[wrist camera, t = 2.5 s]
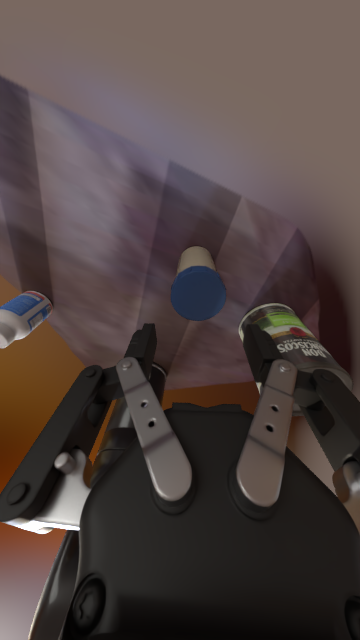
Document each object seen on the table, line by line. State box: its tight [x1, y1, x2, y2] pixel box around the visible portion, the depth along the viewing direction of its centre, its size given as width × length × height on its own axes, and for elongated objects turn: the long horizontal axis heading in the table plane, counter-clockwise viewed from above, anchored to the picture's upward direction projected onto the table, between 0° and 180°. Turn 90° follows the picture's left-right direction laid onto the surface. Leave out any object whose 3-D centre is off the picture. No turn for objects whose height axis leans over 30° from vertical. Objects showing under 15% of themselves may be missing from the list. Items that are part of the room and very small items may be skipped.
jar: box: [176, 246, 218, 277], centre depth 24 cm, size 5×5×11 cm
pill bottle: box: [0, 291, 53, 348], centre depth 30 cm, size 6×5×10 cm
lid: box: [171, 266, 226, 321], centre depth 20 cm, size 6×6×2 cm
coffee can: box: [239, 303, 353, 416], centre depth 28 cm, size 10×10×14 cm
